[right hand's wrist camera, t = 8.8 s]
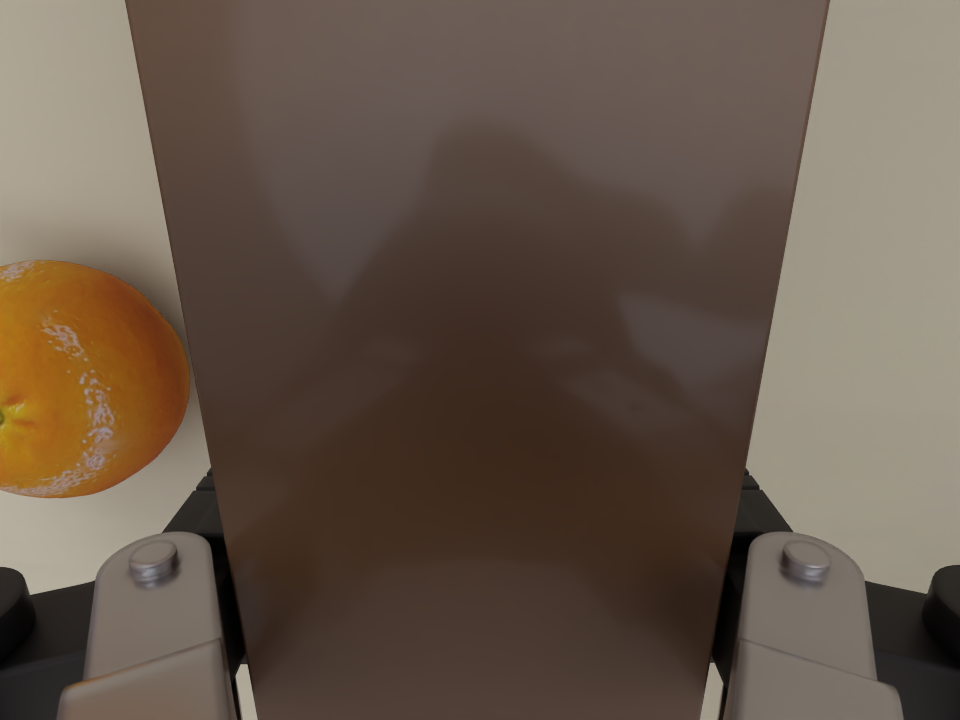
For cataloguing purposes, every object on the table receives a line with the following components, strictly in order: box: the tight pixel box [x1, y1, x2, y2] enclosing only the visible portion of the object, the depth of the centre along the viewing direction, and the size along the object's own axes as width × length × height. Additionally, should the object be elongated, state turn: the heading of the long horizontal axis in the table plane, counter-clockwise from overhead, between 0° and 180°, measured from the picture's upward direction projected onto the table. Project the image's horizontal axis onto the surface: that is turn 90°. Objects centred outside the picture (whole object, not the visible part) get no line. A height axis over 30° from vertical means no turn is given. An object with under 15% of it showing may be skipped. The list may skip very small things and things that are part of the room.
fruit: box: [0, 260, 190, 498], centre depth 23 cm, size 8×8×8 cm
